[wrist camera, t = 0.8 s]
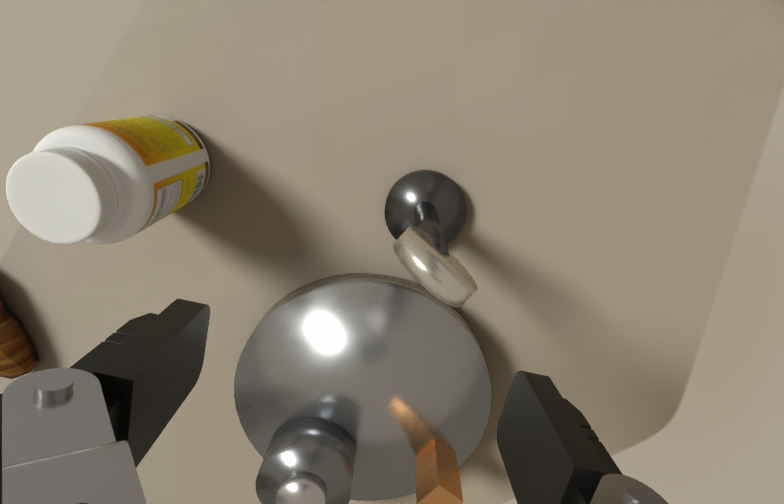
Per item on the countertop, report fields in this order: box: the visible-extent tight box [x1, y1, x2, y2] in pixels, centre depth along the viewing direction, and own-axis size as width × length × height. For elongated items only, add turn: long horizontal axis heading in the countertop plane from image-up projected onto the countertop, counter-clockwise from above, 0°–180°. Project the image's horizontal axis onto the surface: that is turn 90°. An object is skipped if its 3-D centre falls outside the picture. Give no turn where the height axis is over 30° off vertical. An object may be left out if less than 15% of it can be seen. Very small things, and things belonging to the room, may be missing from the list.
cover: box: [256, 417, 356, 504], centre depth 30 cm, size 6×6×4 cm
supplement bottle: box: [6, 115, 210, 244], centre depth 24 cm, size 6×6×10 cm
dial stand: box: [385, 170, 477, 308], centre depth 24 cm, size 5×5×12 cm
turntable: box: [234, 273, 492, 504], centre depth 30 cm, size 17×17×6 cm
